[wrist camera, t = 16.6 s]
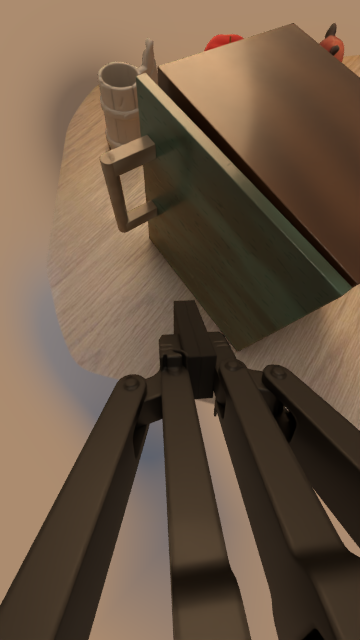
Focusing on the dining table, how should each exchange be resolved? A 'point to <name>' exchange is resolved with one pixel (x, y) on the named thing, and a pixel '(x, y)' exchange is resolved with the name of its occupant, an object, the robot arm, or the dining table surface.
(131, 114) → the mug
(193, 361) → the robot arm
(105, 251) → the dining table surface
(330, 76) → the cupboard
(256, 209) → the door
